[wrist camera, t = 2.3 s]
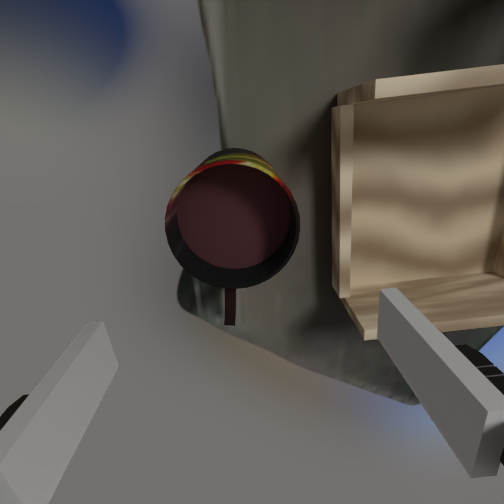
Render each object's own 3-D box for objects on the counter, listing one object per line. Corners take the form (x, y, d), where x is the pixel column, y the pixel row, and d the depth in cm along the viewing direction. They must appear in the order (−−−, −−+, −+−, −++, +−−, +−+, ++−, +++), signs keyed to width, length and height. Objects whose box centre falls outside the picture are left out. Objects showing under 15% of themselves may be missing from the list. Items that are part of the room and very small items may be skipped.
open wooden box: (331, 93, 29) (367, 80, 21) (542, 69, 29) (664, 45, 21) (332, 294, 38) (358, 341, 29) (495, 275, 37) (567, 318, 29)
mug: (230, 278, 36) (225, 344, 25) (174, 171, 31) (138, 195, 20) (305, 248, 35) (334, 304, 24) (259, 132, 30) (270, 134, 19)
